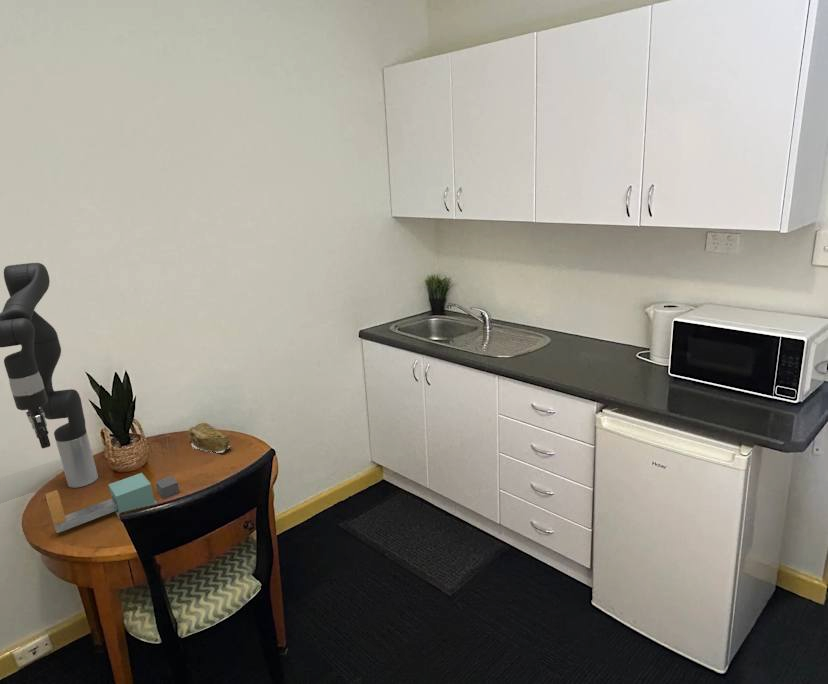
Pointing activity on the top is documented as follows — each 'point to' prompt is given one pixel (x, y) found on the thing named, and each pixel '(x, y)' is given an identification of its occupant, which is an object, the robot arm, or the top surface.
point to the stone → (208, 438)
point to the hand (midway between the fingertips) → (43, 442)
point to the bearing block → (132, 493)
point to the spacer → (167, 487)
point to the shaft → (77, 517)
